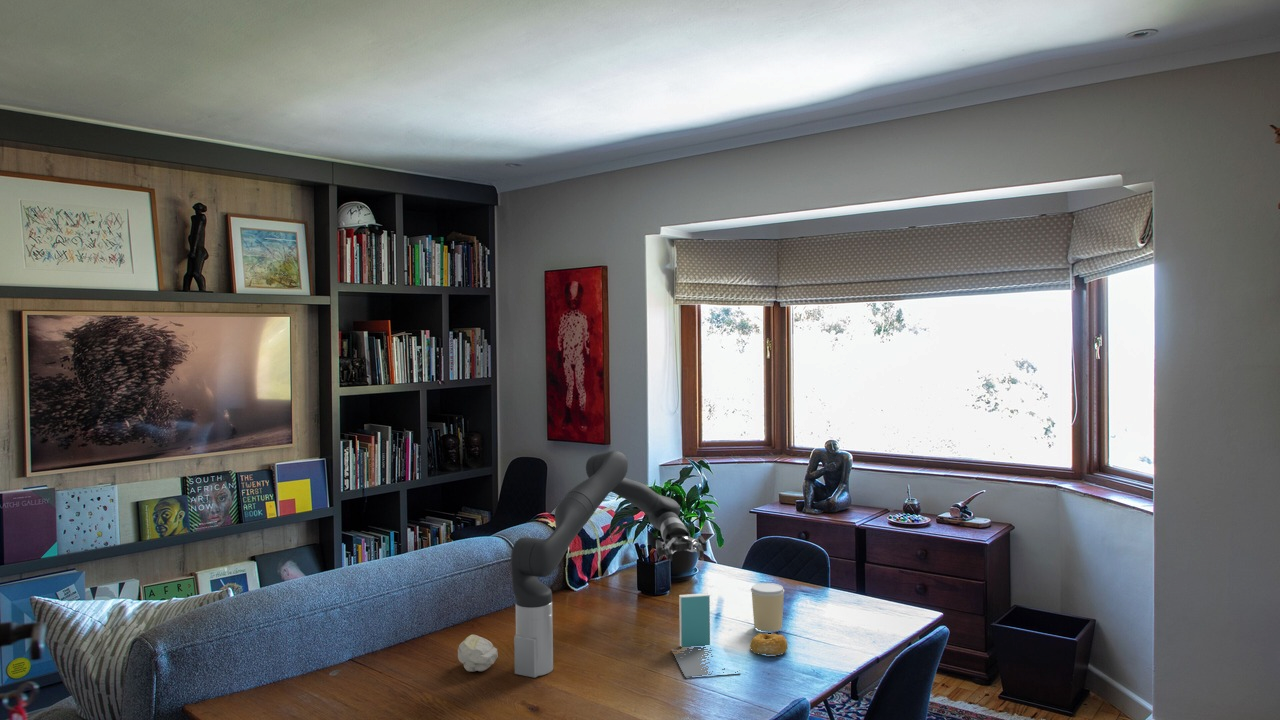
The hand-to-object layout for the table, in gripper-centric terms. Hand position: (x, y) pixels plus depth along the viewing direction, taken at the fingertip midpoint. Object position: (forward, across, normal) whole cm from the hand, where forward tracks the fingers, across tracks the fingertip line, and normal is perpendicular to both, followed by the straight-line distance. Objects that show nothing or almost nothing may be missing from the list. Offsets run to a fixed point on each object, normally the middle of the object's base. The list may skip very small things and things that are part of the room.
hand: (686, 556), depth 225 cm
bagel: (+17, +18, +22) cm, 33 cm away
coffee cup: (+2, +23, +24) cm, 33 cm away
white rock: (+15, -58, +18) cm, 62 cm away
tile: (+11, -1, +21) cm, 24 cm away
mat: (+22, -1, +19) cm, 29 cm away
